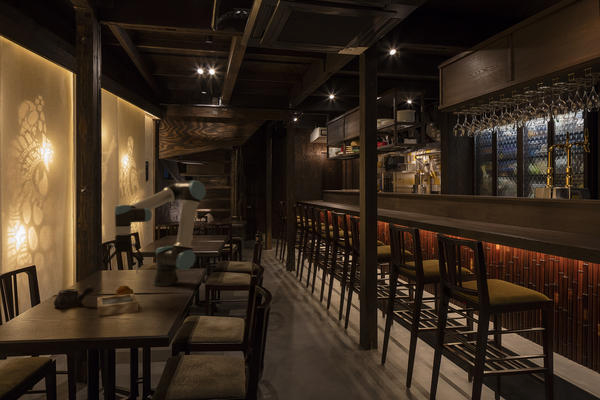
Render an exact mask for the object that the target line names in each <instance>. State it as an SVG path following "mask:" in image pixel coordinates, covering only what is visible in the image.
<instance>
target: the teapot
mask: <svg viewBox="0 0 600 400" xmlns="http://www.w3.org/2000/svg"><path fill="white" fill-rule="evenodd" d="M94 290H95V288H94V286H92V285H87V286H86V287H85V288H84V291H83V292H82V293H79V292H78V289H77V288H66V289H61V290H59V291H58V294H57V295H56V297H55V300H54V302H53V305H54V307H55V308H61V309H65V308H67V309H68V308H72V307H77V306H79V305H81V304H82V303H83V300H84V299H85V297H86V296H89V295H91V294H92V293H93V292H94Z"/></svg>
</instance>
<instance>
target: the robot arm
mask: <svg viewBox="0 0 600 400" xmlns="http://www.w3.org/2000/svg"><path fill="white" fill-rule="evenodd" d="M206 192H207V191H206V186H205V184H203V182H201V181H199V180H193V179H192V180H180V181H177V182H174V183H173V184H172V183H171V184H170V185H168V186H165V187H164V188H163V190H161V191H159V192H157V193H155V194H153V195H149V196H148V197H146V198H144V199H141V200H139V201H137V202H135V203H133V204H117V205H116V206H115V209H114V210H115V211H114V225H115V228H114V229H115V231H114V232H115V233H114V234H115V236H114V237H115V239H114V241H115V243H114V244H112V243H109V244H108V246H107V247H108V248H107V250H106V252H105V254H104V256H103V257H102V260H101V263H103V264H105V270H106V271H107V277H111V276H110V274H111V273H110V267H111V265H110V261H111V260H112V259H113V258H114V257H115V256H116V255H117V254H118V253H128V252H129V253H130V254H131V256H133V258H134V259H135V260H136V261H135V274H136V275H139V269H140V268H141V262H142V261H144V260H145V258H144V255H143V254H142V252H141V251H140V249H139V246H138V243H137V242H135V243H134V242H133V243H132V236H131V233H132V223H145V222H150V221H151V219H152V216H153V215H152V214H153V213H152V210H154V209H156V208H158V207H160V206H162V205H164V204H167V203H172V202H174V201H177V200H179V201H180V202H181V203H182V206H181V212H180V219H179V225H178V231H177V237H176V242H175V243H174V244H173V245H171V246H162V247H157V248H156V250H155V265H156V266H155V270H156V271H155V272H156V273H155V275H154V279H153V286H155V287H172V286H176V285H179V284H180V278H179V275H178V272H177V270H188V269H190V268H191V267H193V266H194V264H195V261H196V254H195V252H194V251H193V250H194V247H193V245H192V238H193V234H194V229H195V228H194V227H195V222H196V221H195V220H196V214H197V210H198V209H197V208H198V206H199V205H200V204H201V200H203V199H204V198H205V197H206ZM132 247H133V248H134V249H135V250H136V253H137V254H138V256H139V257H140V258H139V257H138V256H137V255H136V254H135V253H134V252H133V250H132V249H131V248H132ZM114 248H115V250H114V251H113V252H112V253H111V255H109V254H110V252H111V250H112V249H114ZM108 256H109V257H108Z"/></svg>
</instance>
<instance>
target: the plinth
mask: <svg viewBox="0 0 600 400" xmlns="http://www.w3.org/2000/svg"><path fill="white" fill-rule="evenodd" d="M138 311H139V301H138V299H137V297H136V294H135V293H133V294H126V295H117V296H115V295H111V296H109V295H108V296H98V297H97V316H98V317H100V316H107V315H115V314H125V313H131V312H138Z"/></svg>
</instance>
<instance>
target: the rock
mask: <svg viewBox="0 0 600 400" xmlns="http://www.w3.org/2000/svg"><path fill="white" fill-rule="evenodd" d="M126 294H135V293H134V290H133V289H132V288H130V286H128V285H120V286H118V288H117V289H116V290H115V295H114V296H117V295H126Z"/></svg>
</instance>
